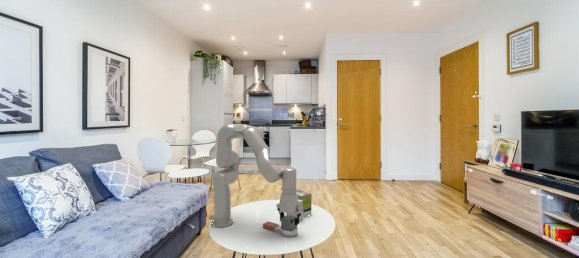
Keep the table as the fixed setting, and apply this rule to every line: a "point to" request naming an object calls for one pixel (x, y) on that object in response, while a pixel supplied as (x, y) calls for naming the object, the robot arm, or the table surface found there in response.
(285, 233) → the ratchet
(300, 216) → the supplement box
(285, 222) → the brushed grey cube
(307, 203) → the tea box
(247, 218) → the table surface
